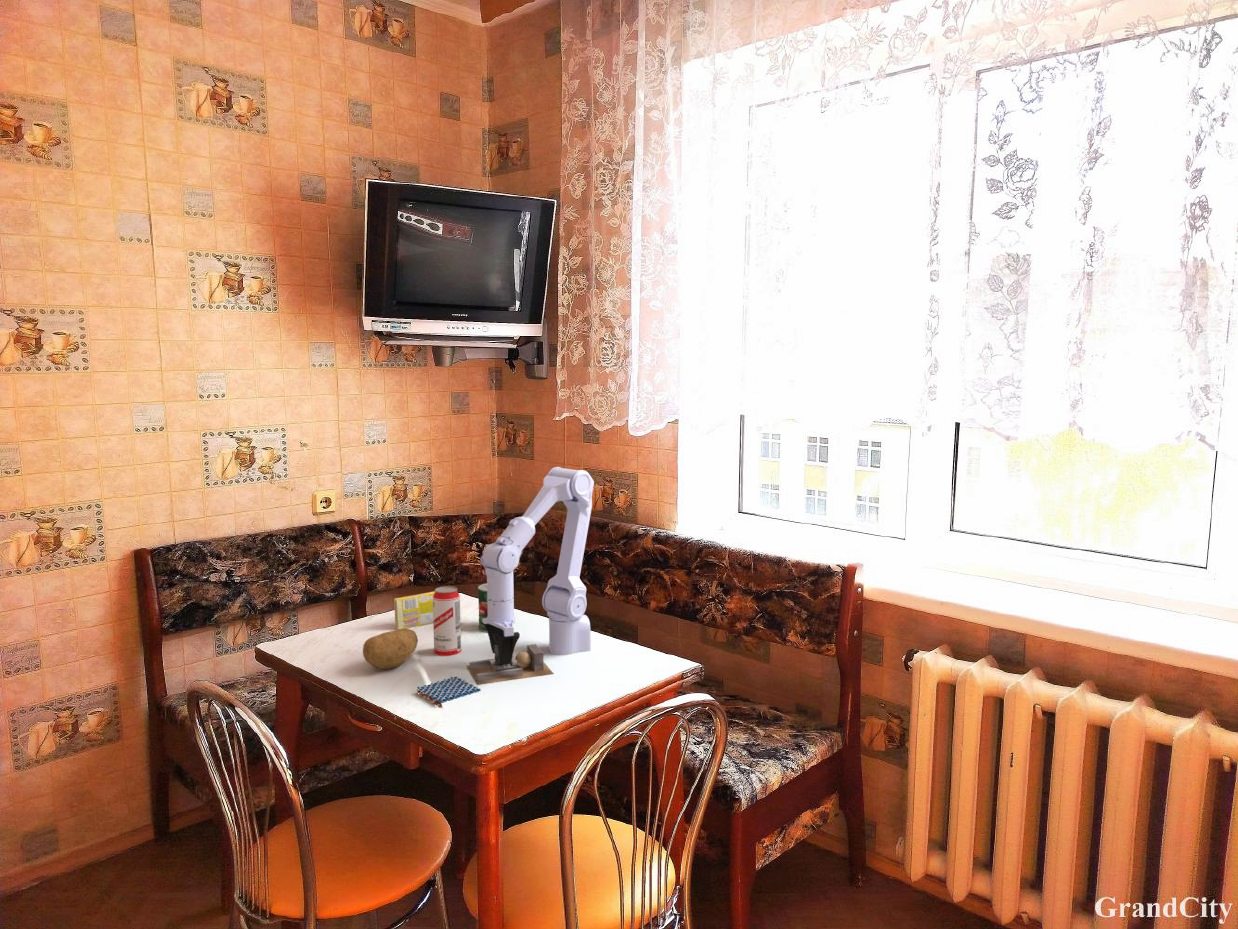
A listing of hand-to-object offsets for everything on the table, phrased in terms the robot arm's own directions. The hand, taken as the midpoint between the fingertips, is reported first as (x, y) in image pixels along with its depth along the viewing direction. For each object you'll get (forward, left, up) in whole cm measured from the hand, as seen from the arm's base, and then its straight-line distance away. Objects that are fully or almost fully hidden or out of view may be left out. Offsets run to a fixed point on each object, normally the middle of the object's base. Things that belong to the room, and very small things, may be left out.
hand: (501, 658), depth 188 cm
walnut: (-4, 0, -3) cm, 5 cm away
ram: (0, 0, -3) cm, 3 cm away
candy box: (+10, -43, -4) cm, 44 cm away
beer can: (+9, -17, -4) cm, 20 cm away
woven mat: (+13, +6, -5) cm, 15 cm away
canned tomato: (-6, -33, -4) cm, 34 cm away
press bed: (-2, 0, -4) cm, 4 cm away
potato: (+22, -15, -4) cm, 27 cm away
